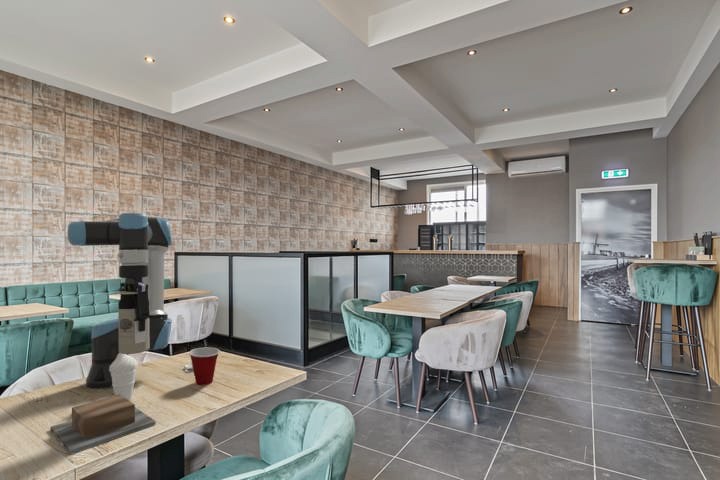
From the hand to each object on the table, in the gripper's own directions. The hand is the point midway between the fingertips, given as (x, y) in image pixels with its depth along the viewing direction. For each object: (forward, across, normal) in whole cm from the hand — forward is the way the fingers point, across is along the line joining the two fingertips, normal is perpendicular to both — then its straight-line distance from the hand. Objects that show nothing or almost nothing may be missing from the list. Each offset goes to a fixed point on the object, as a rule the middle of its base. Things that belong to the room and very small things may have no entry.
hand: (134, 340), depth 113 cm
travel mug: (+3, 0, 0) cm, 3 cm away
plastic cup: (+23, -11, +28) cm, 38 cm away
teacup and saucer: (+24, -31, +36) cm, 53 cm away
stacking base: (+23, -1, -8) cm, 25 cm away
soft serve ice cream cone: (+23, -18, +4) cm, 30 cm away
